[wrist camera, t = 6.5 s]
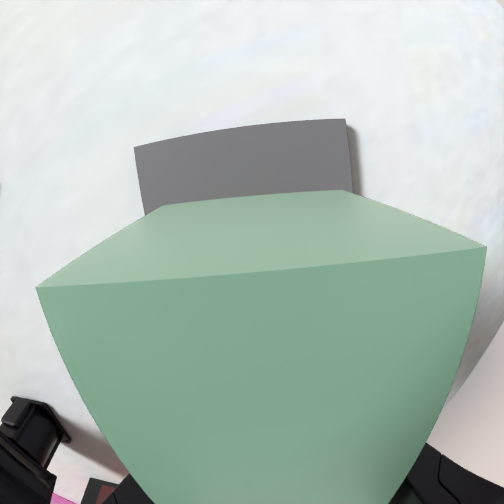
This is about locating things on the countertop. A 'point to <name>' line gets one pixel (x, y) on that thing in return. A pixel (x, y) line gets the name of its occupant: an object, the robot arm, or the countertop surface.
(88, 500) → the cleaning product box
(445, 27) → the countertop surface
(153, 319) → the block
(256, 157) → the chassis plate
